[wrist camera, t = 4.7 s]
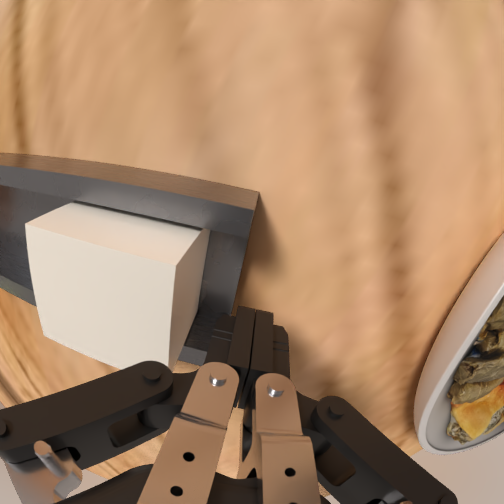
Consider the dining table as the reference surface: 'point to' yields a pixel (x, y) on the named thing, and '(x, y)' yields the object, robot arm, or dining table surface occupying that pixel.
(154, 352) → the block
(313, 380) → the dining table surface
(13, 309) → the dining table surface
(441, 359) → the bowl
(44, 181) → the chute
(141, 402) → the robot arm
